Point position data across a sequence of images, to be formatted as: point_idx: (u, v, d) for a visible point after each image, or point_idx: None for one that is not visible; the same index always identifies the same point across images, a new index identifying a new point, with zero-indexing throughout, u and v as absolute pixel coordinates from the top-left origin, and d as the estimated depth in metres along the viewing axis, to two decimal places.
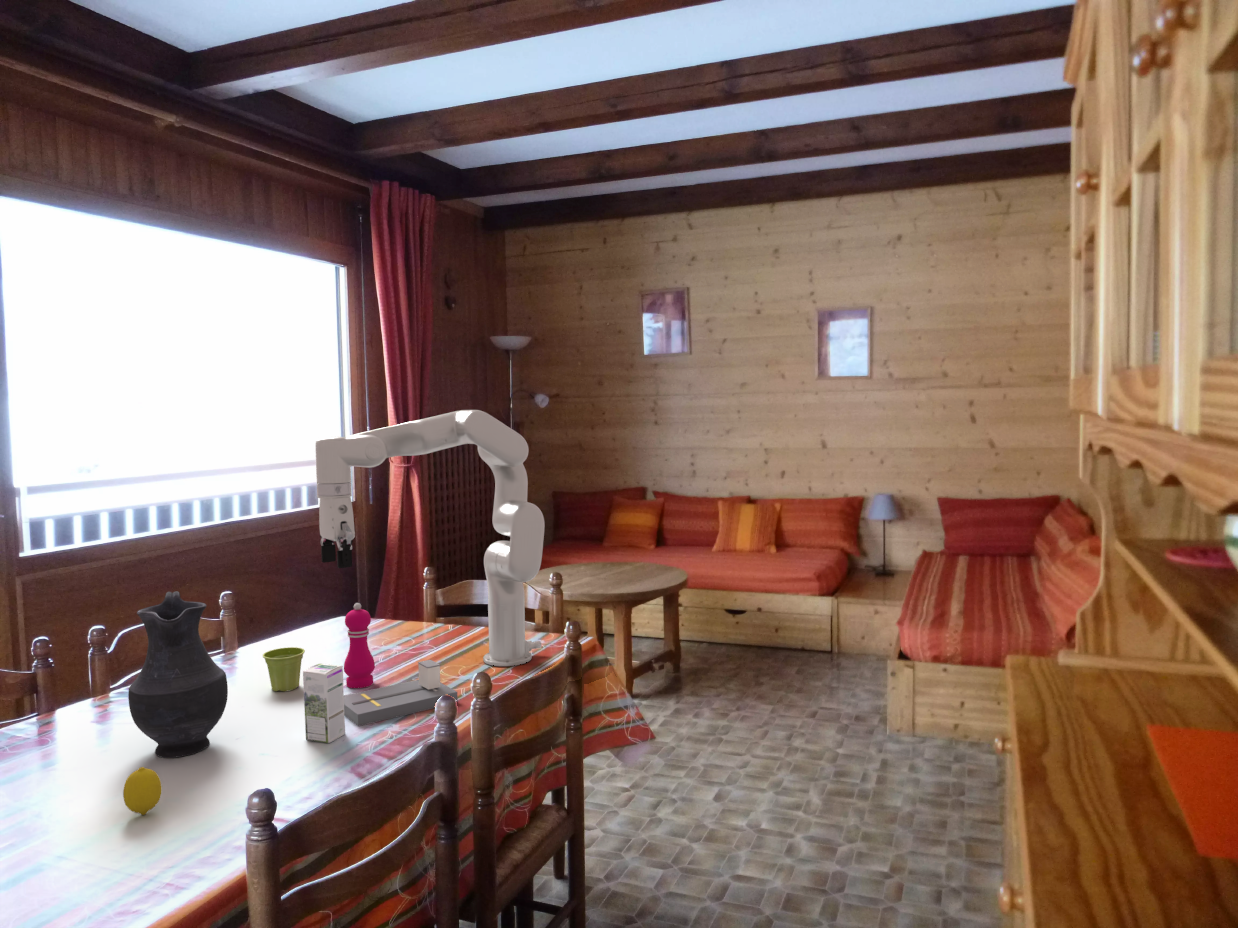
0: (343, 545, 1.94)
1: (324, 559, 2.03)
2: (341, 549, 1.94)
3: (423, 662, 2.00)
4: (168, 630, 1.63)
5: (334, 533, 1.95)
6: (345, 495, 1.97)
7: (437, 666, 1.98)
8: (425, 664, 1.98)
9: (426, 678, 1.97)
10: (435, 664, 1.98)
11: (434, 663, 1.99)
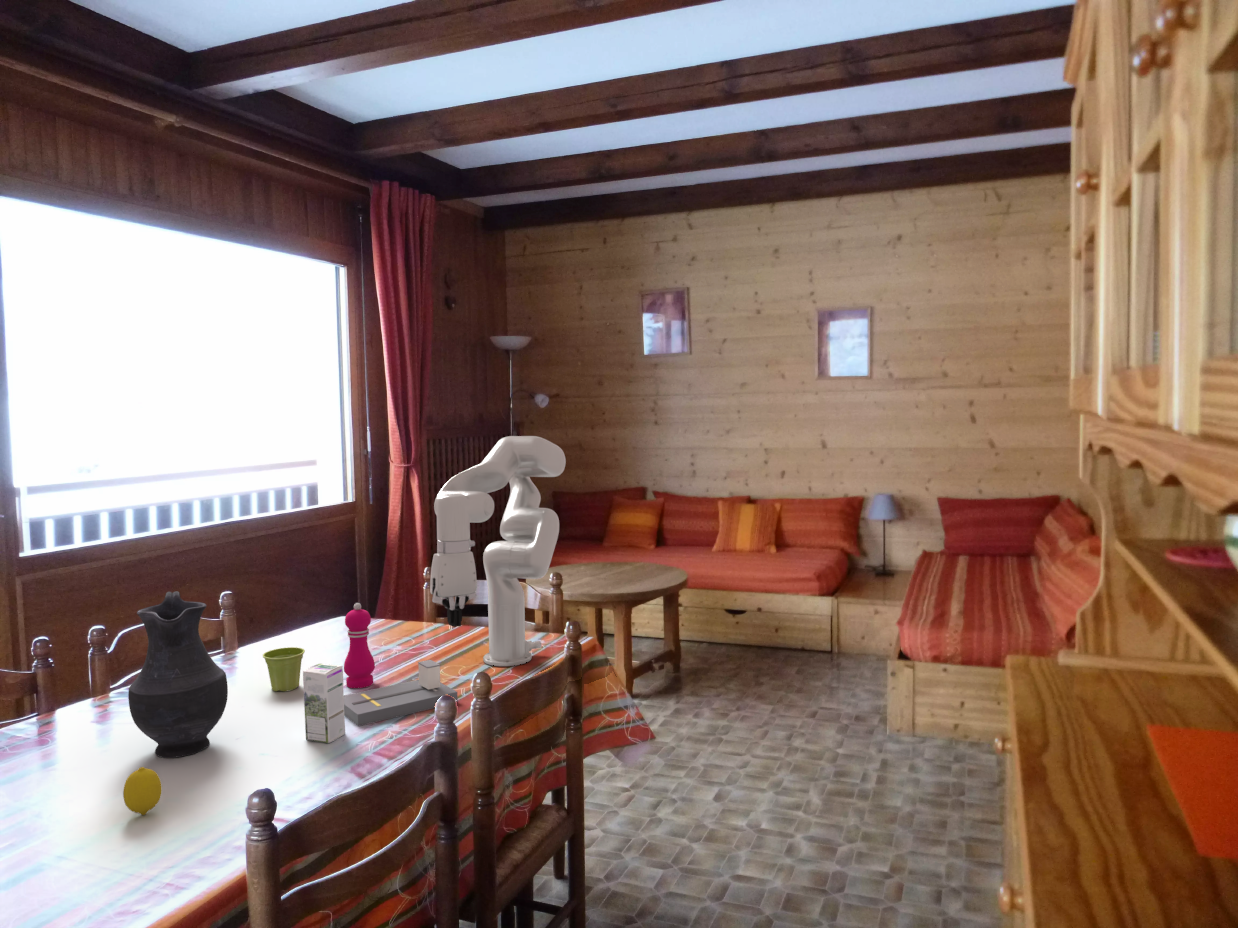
0: None
1: None
2: None
3: (423, 662, 2.00)
4: (168, 630, 1.63)
5: (475, 585, 2.03)
6: None
7: (437, 666, 1.98)
8: (425, 664, 1.98)
9: (426, 678, 1.97)
10: (435, 664, 1.98)
11: (434, 663, 1.99)
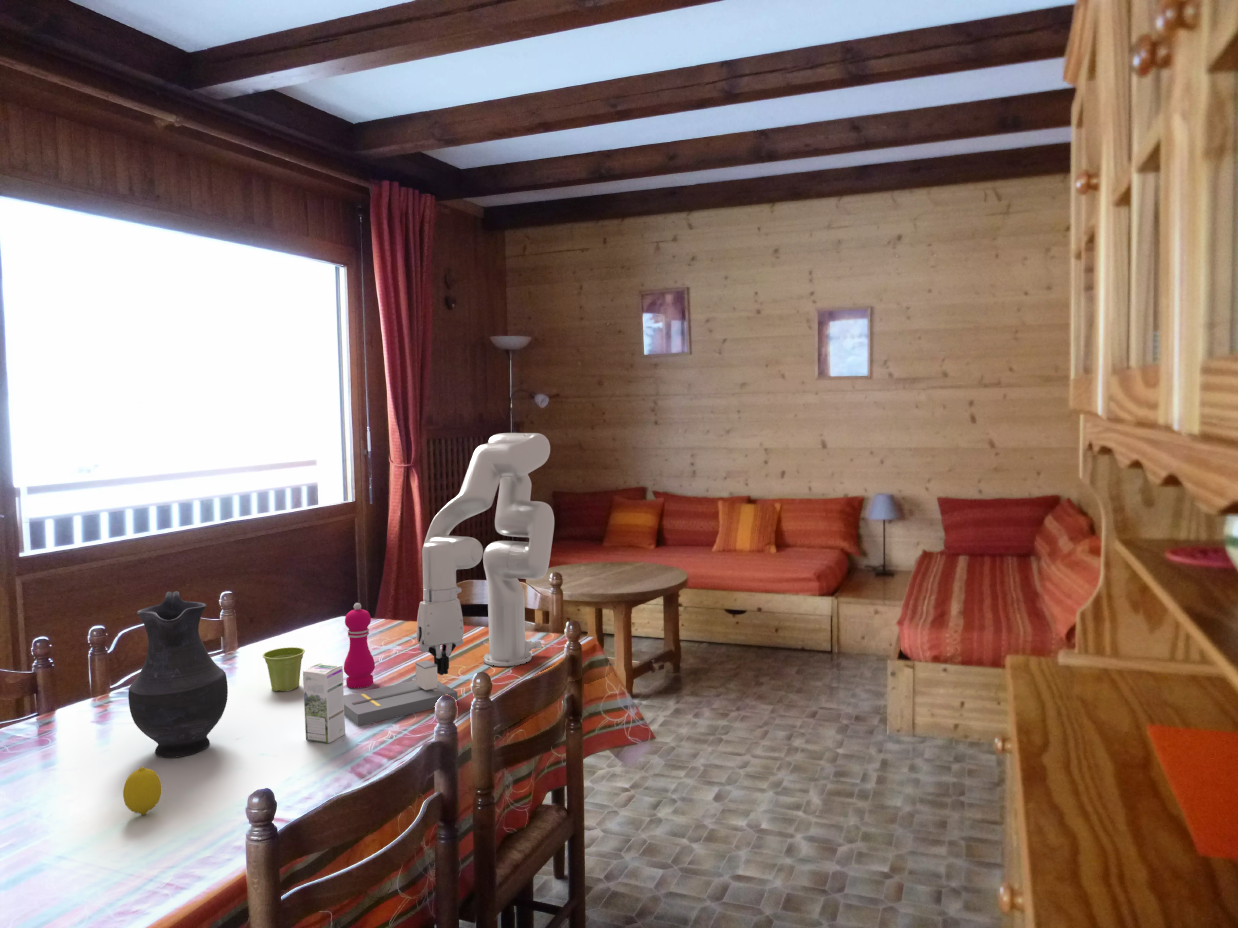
0: (451, 649, 2.01)
1: None
2: None
3: (420, 663, 1.99)
4: (168, 630, 1.63)
5: (462, 632, 2.02)
6: None
7: (434, 667, 1.97)
8: (422, 665, 1.98)
9: (423, 679, 1.96)
10: (432, 665, 1.98)
11: (431, 664, 1.98)
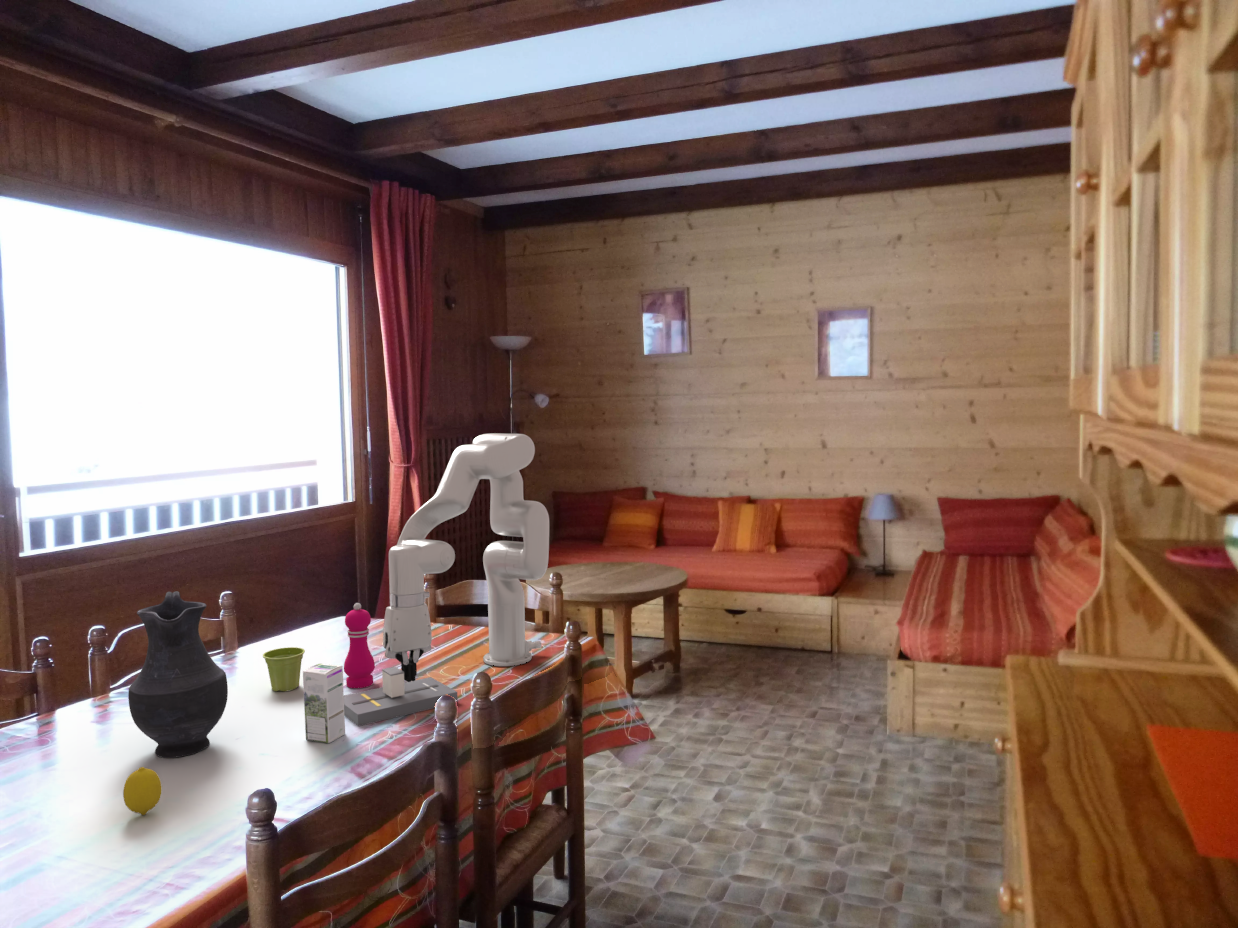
0: (418, 656, 1.96)
1: None
2: None
3: (387, 669, 1.94)
4: (168, 630, 1.63)
5: (430, 638, 1.97)
6: None
7: (401, 673, 1.92)
8: (389, 671, 1.93)
9: (389, 686, 1.92)
10: (399, 671, 1.93)
11: (398, 670, 1.94)
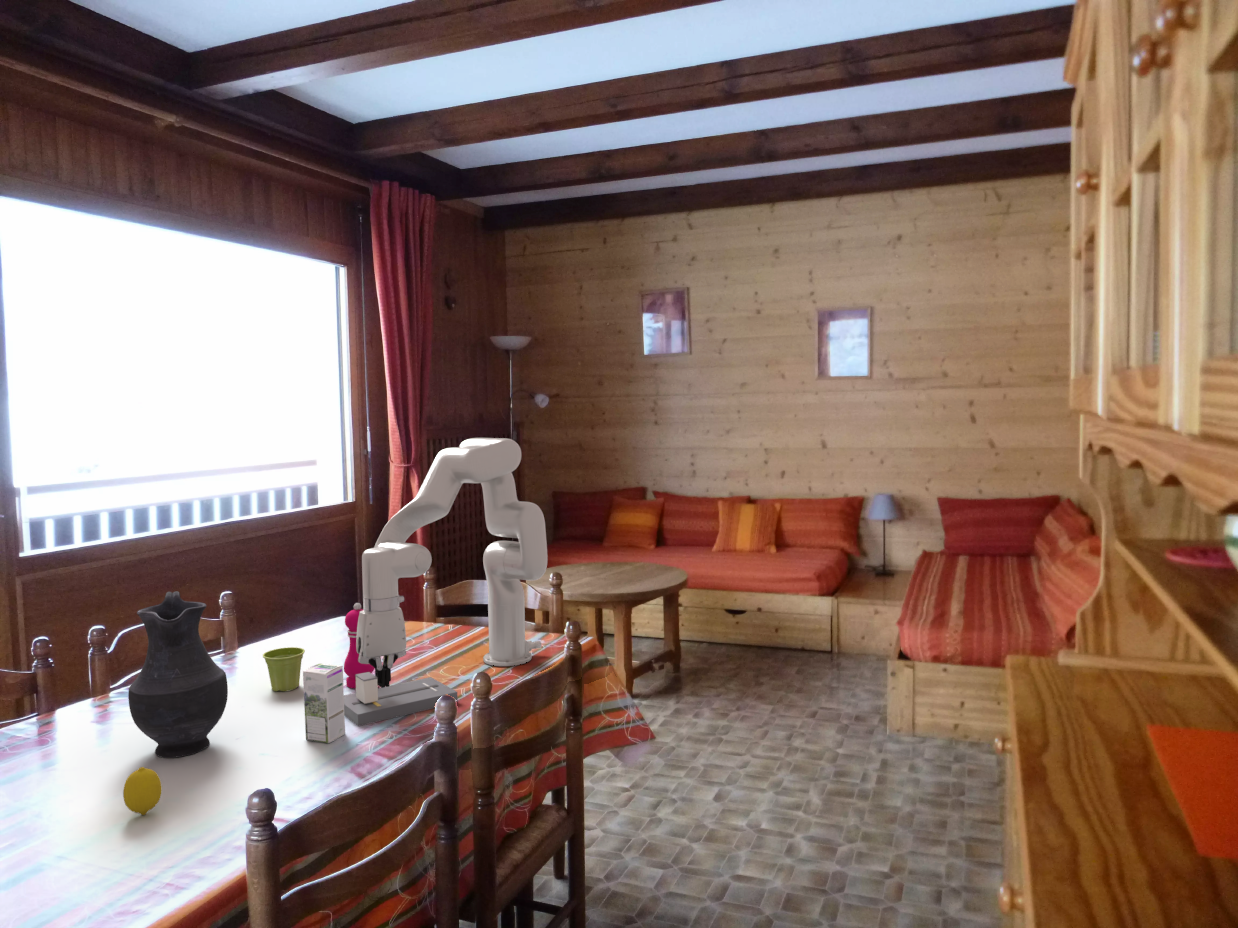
0: (393, 661, 1.93)
1: None
2: None
3: (360, 675, 1.91)
4: (168, 630, 1.63)
5: (404, 643, 1.93)
6: None
7: (374, 679, 1.89)
8: (362, 677, 1.89)
9: (362, 691, 1.88)
10: (372, 677, 1.89)
11: (371, 676, 1.90)
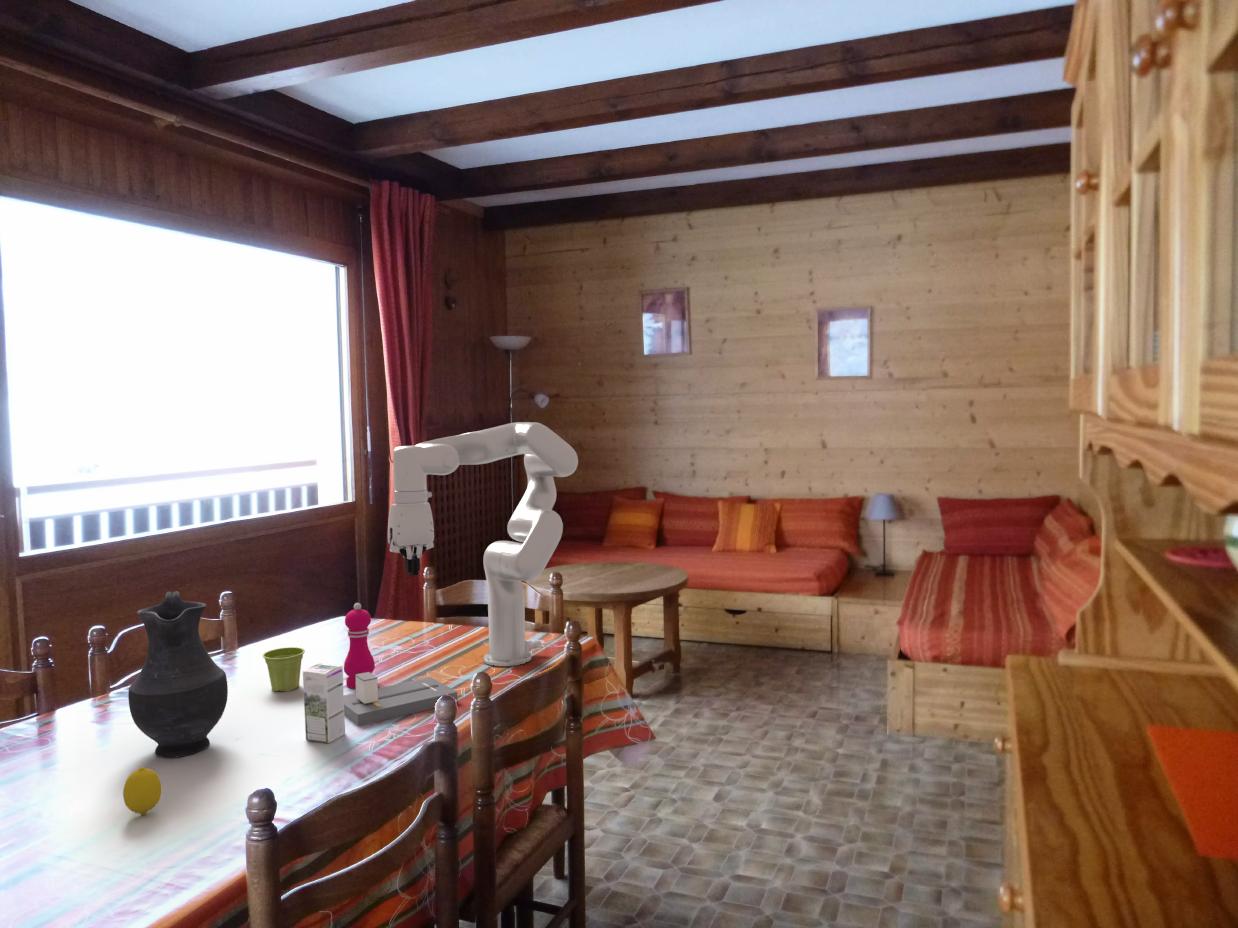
0: (421, 552, 2.07)
1: None
2: None
3: (360, 675, 1.91)
4: (168, 630, 1.63)
5: (432, 535, 2.07)
6: None
7: (374, 679, 1.89)
8: (362, 677, 1.89)
9: (362, 691, 1.88)
10: (372, 677, 1.89)
11: (371, 676, 1.90)
